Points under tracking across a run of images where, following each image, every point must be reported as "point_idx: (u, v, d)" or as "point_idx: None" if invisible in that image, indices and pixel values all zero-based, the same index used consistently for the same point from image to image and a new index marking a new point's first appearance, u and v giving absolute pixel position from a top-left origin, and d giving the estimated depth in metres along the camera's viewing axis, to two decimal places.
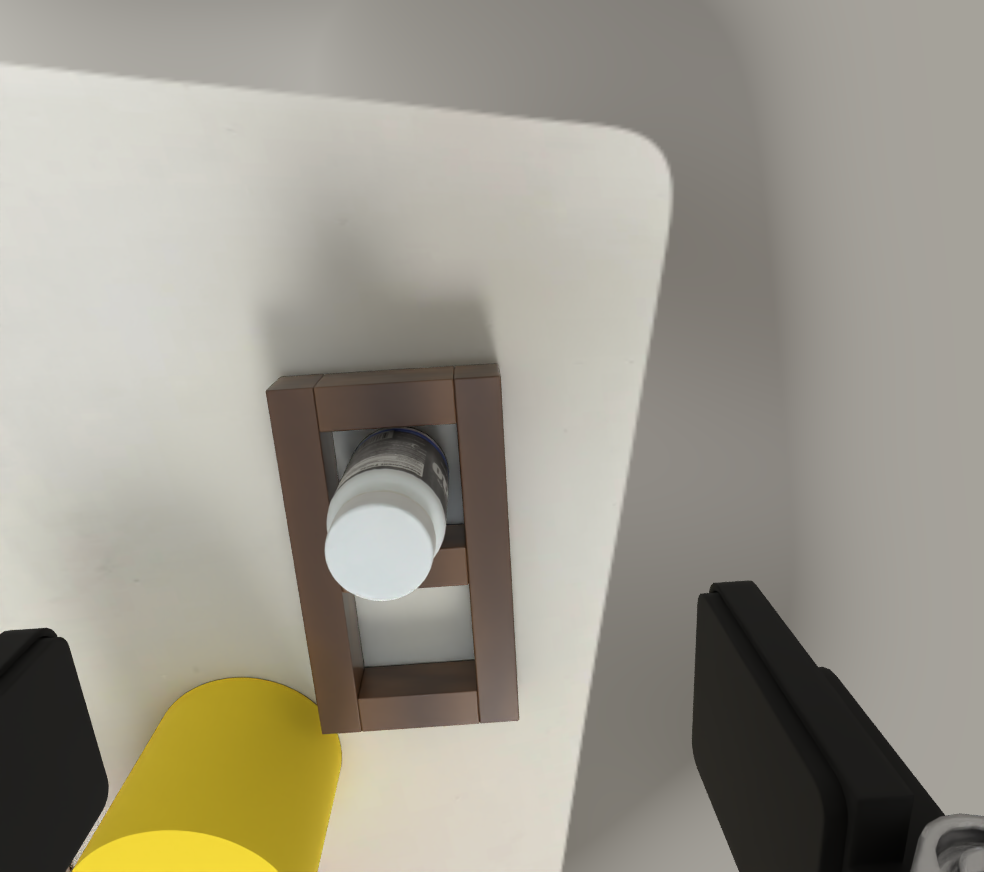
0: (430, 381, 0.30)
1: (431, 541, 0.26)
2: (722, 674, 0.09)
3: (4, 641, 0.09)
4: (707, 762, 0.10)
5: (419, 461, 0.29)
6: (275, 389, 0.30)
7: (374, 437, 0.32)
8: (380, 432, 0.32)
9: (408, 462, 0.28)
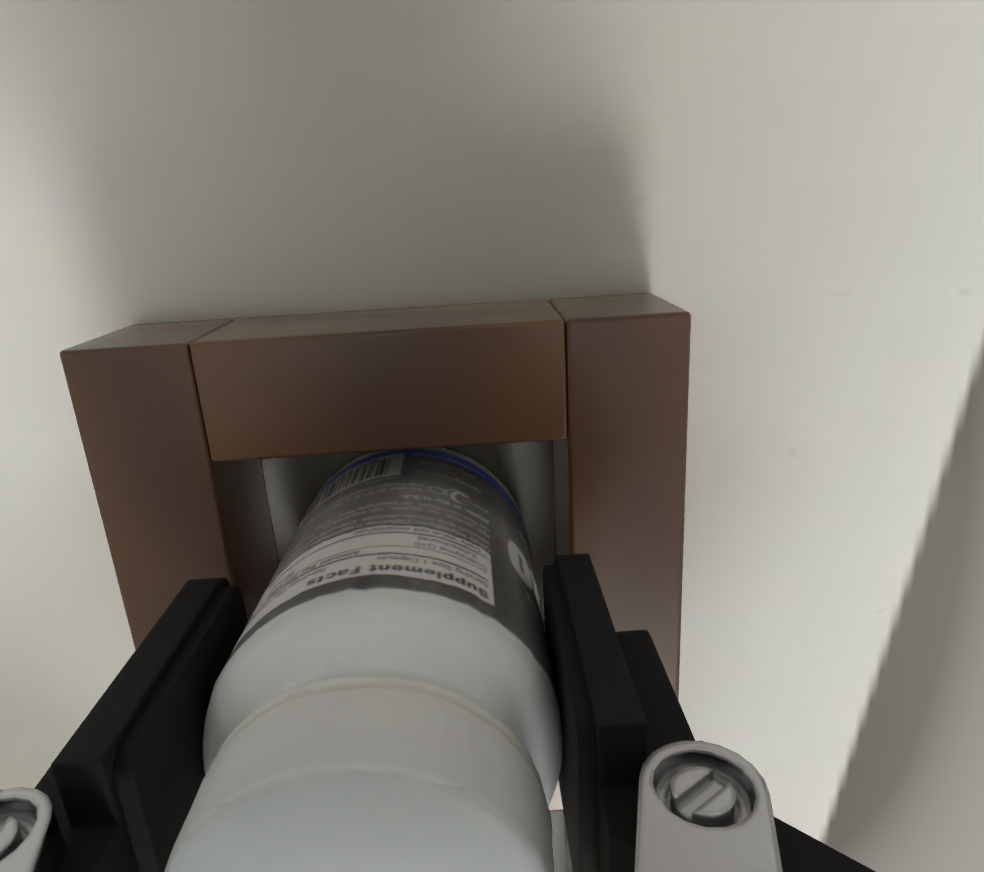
0: (505, 327, 0.11)
1: None
2: (551, 635, 0.10)
3: (194, 587, 0.10)
4: None
5: (478, 545, 0.10)
6: (87, 348, 0.11)
7: (356, 471, 0.13)
8: (371, 458, 0.13)
9: (449, 557, 0.10)
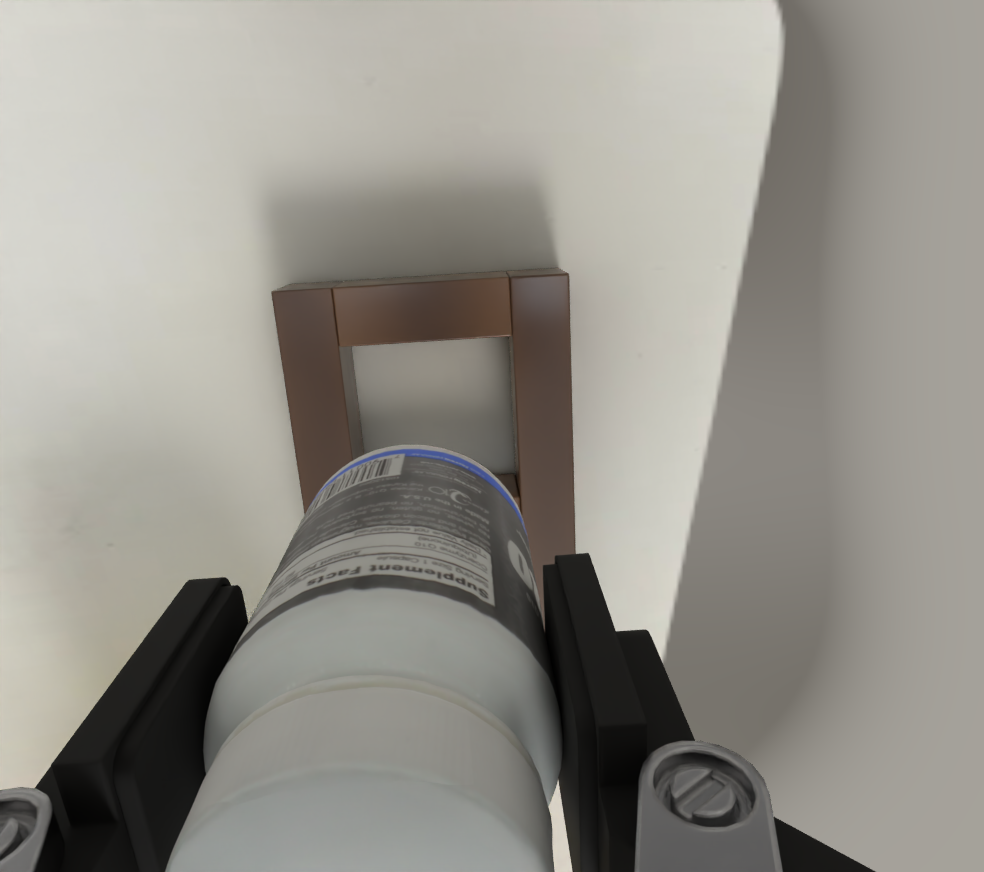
0: (481, 280, 0.23)
1: None
2: (551, 635, 0.10)
3: (194, 587, 0.10)
4: None
5: (478, 546, 0.10)
6: (283, 290, 0.23)
7: (356, 471, 0.13)
8: (371, 458, 0.13)
9: (449, 557, 0.10)
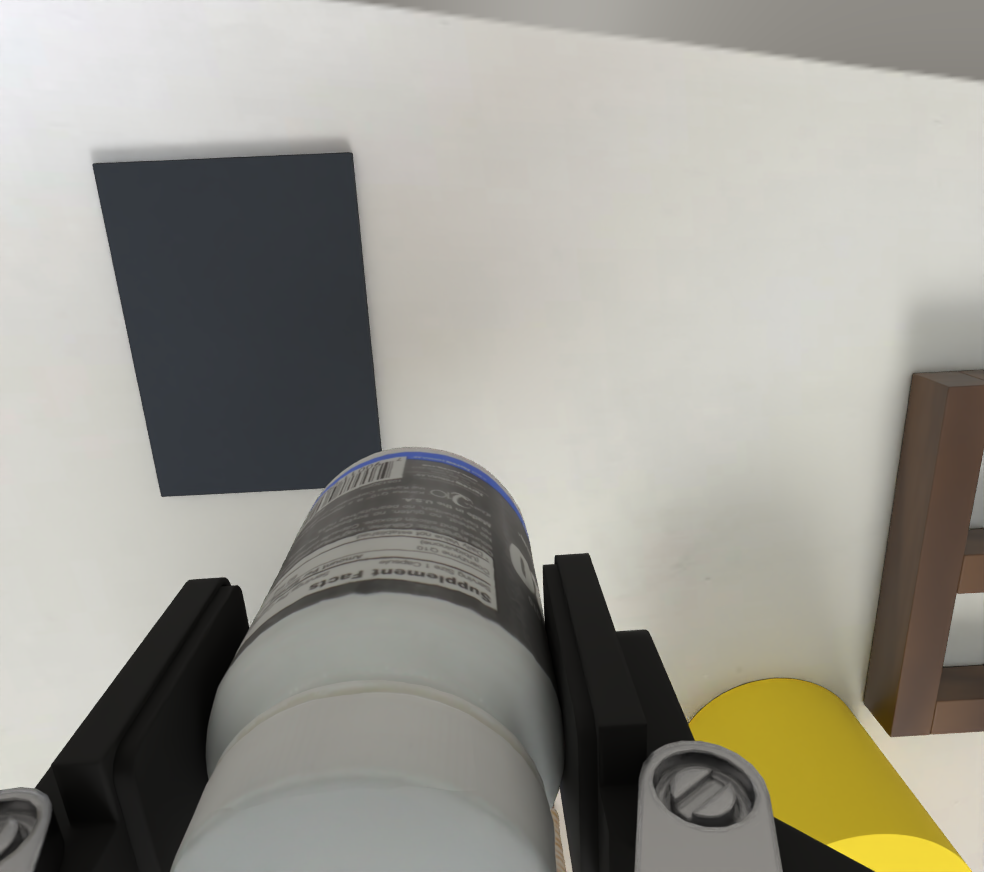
0: None
1: None
2: (551, 635, 0.10)
3: (194, 587, 0.10)
4: None
5: (480, 549, 0.10)
6: (956, 385, 0.29)
7: (358, 474, 0.13)
8: (373, 461, 0.13)
9: (451, 561, 0.10)
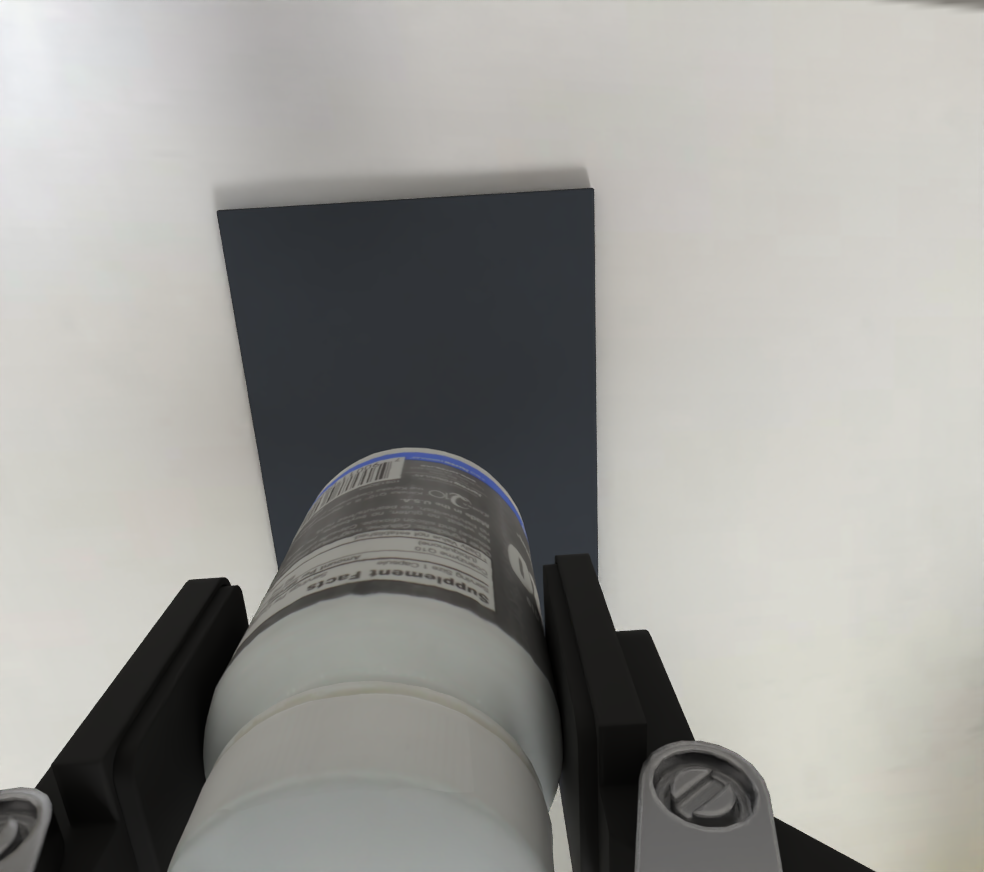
0: None
1: None
2: (551, 635, 0.10)
3: (194, 587, 0.10)
4: None
5: (478, 550, 0.10)
6: None
7: (357, 475, 0.13)
8: (371, 462, 0.13)
9: (449, 562, 0.10)
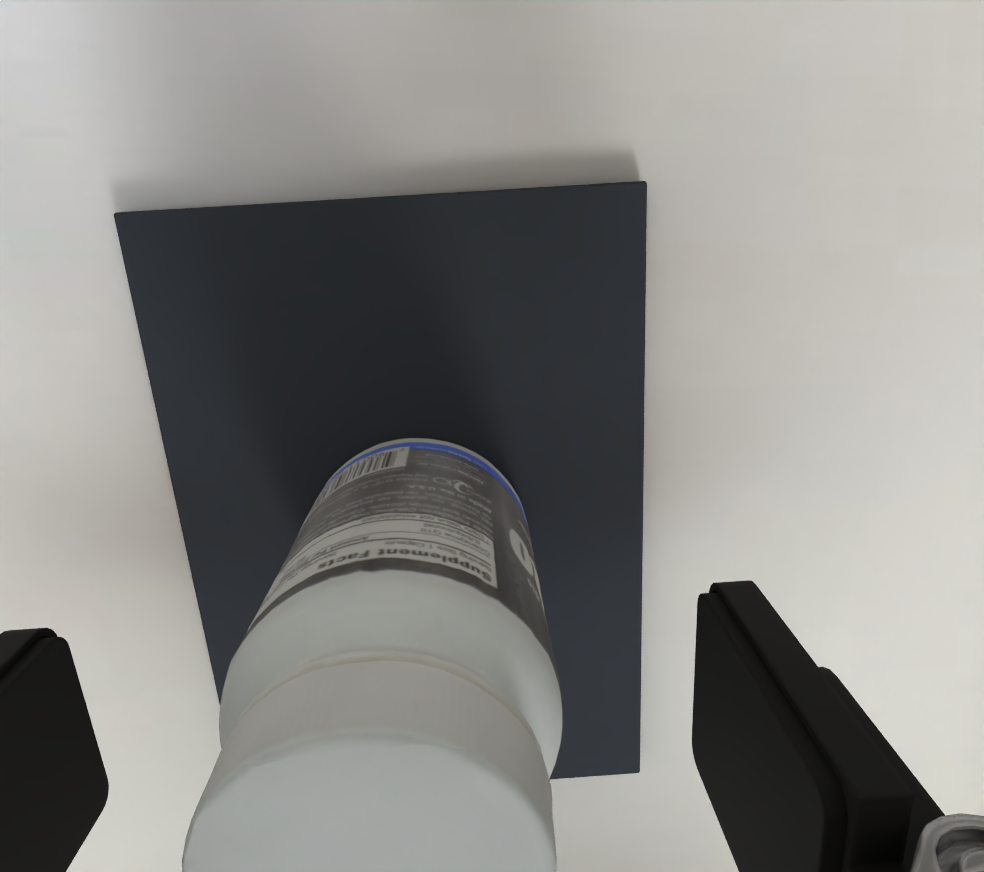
0: None
1: (552, 843, 0.07)
2: (722, 674, 0.09)
3: (4, 641, 0.09)
4: (707, 762, 0.10)
5: (481, 533, 0.11)
6: None
7: (363, 463, 0.13)
8: (377, 451, 0.14)
9: (453, 542, 0.10)
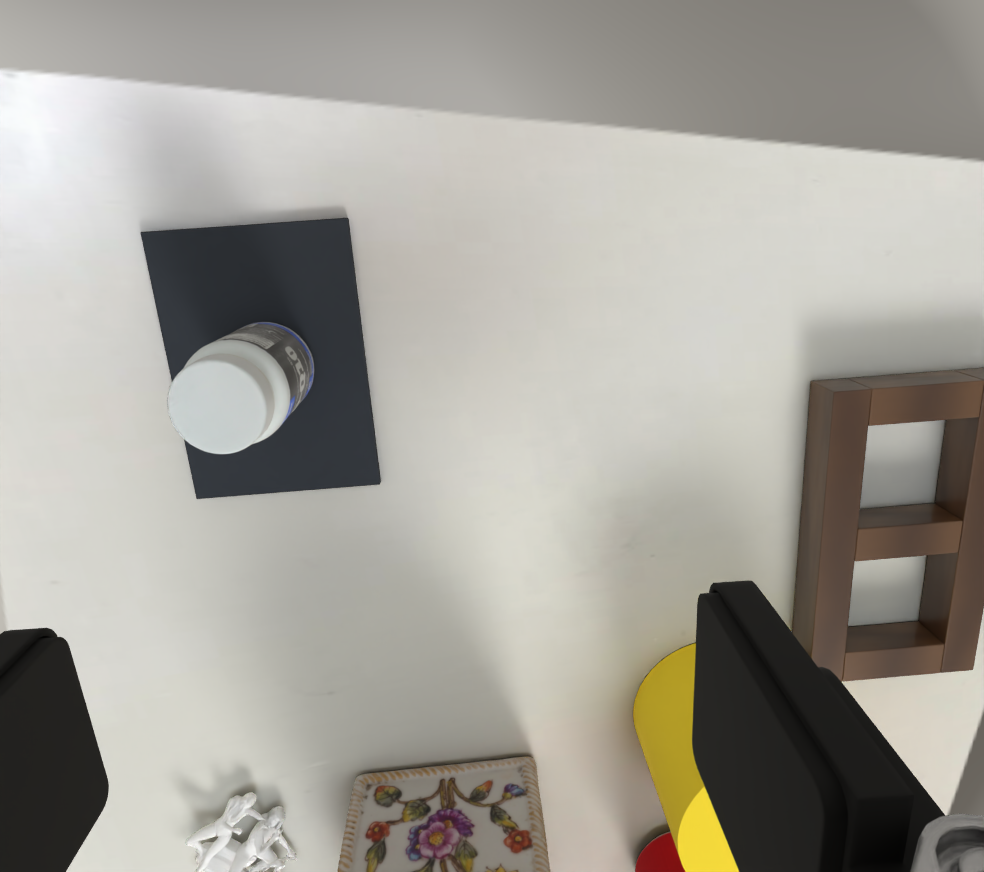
0: (966, 382, 0.36)
1: (264, 396, 0.28)
2: (722, 674, 0.09)
3: (4, 641, 0.09)
4: (707, 762, 0.10)
5: (270, 340, 0.32)
6: (840, 390, 0.36)
7: (239, 329, 0.34)
8: None
9: (256, 338, 0.31)
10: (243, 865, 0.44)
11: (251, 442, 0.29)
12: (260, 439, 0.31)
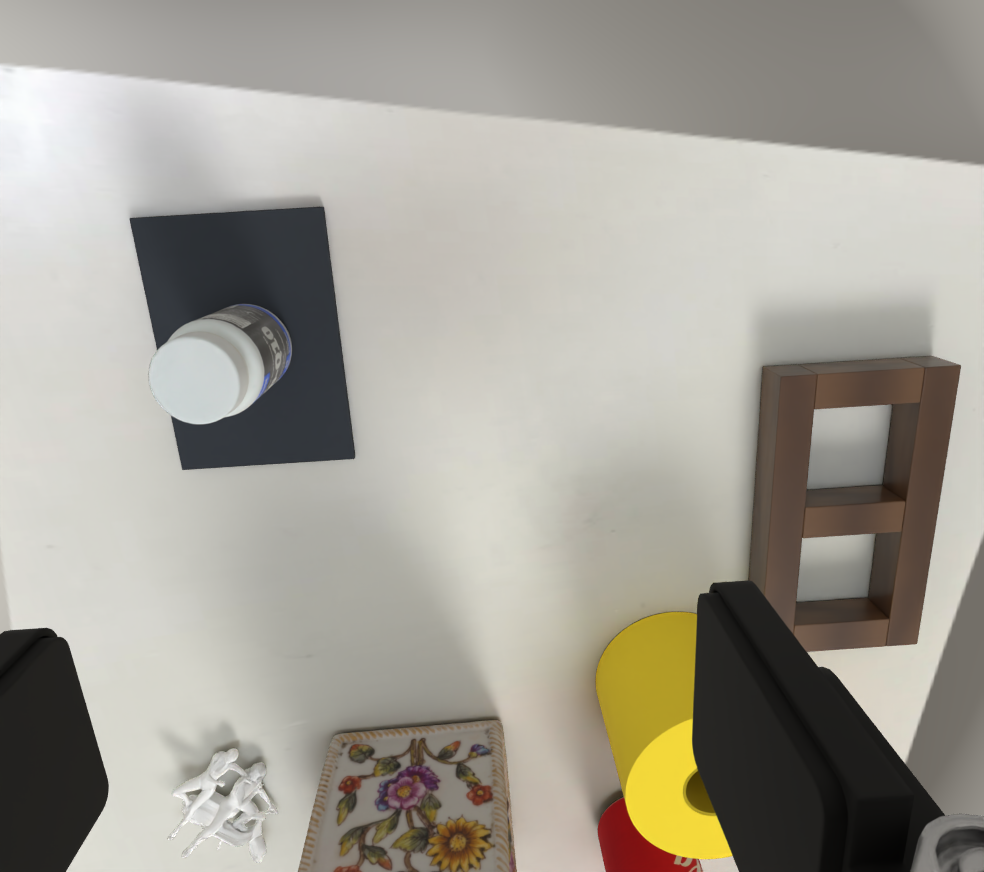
0: (908, 369, 0.38)
1: (237, 371, 0.31)
2: (722, 674, 0.09)
3: (4, 641, 0.09)
4: (707, 762, 0.10)
5: (247, 320, 0.34)
6: (787, 375, 0.38)
7: None
8: (227, 307, 0.37)
9: (233, 318, 0.33)
10: (226, 816, 0.47)
11: (226, 413, 0.31)
12: (236, 412, 0.33)
